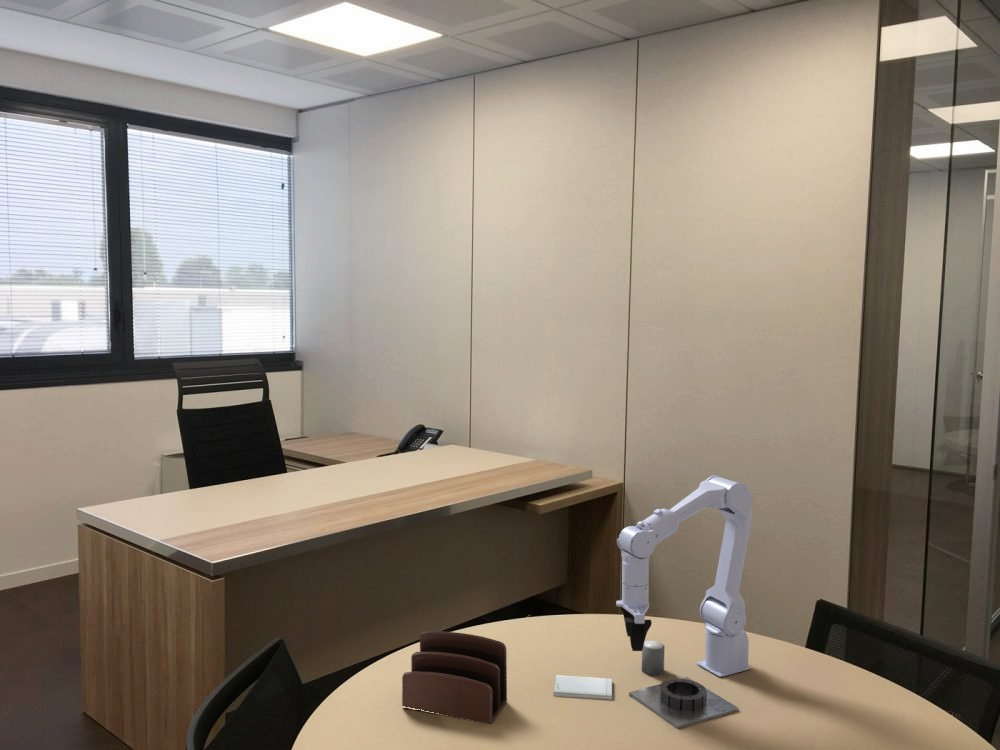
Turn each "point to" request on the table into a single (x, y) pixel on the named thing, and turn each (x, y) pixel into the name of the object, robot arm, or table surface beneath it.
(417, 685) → the letter holder
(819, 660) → the table surface
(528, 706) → the table surface
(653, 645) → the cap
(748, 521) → the robot arm
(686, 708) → the flat grey square plate
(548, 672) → the table surface
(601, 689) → the hard drive
